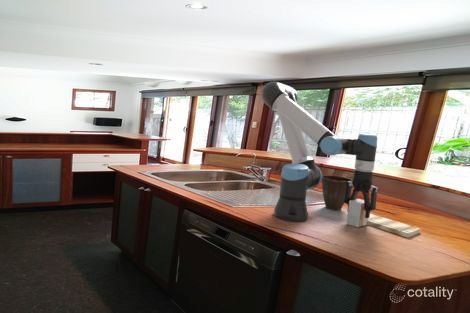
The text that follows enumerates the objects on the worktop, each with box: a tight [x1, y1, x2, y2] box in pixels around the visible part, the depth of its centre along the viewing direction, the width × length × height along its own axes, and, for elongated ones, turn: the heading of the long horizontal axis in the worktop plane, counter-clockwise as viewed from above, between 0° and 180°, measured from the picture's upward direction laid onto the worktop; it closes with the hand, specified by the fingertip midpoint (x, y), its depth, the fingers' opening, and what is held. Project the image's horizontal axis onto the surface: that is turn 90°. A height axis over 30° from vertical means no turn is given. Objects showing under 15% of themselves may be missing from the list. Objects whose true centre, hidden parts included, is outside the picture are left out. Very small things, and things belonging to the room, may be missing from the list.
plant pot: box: [321, 174, 353, 211], centre depth 148 cm, size 15×15×16 cm
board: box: [366, 213, 421, 239], centre depth 126 cm, size 22×12×2 cm, turn 38°
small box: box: [346, 198, 368, 228], centre depth 125 cm, size 8×6×10 cm
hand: (357, 222), depth 126 cm, fingers closed on small box, 6 cm apart
